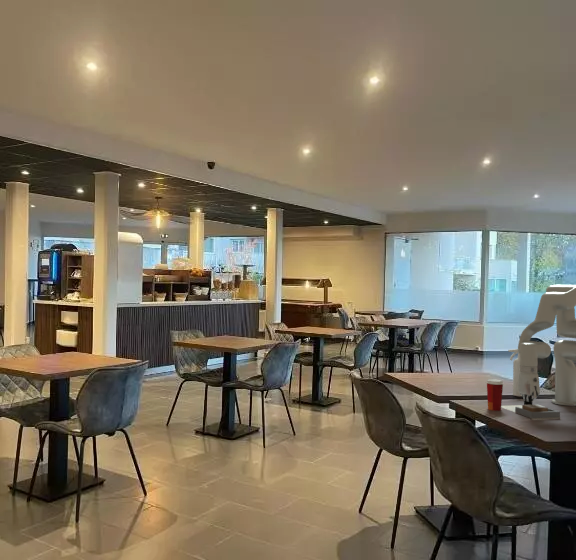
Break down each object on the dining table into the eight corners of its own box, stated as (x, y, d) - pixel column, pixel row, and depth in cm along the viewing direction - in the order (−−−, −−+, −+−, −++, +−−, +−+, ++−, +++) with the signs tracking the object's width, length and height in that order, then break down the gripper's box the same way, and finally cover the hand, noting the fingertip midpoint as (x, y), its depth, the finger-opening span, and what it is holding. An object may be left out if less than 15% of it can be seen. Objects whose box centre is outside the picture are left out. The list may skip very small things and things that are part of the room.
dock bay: (523, 406, 283) (523, 400, 283) (559, 418, 257) (559, 411, 257) (496, 406, 280) (497, 400, 280) (531, 419, 254) (531, 412, 254)
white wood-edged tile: (538, 412, 266) (538, 404, 266) (547, 415, 260) (547, 407, 260) (522, 413, 265) (522, 404, 265) (531, 416, 258) (531, 407, 258)
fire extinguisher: (535, 396, 309) (533, 349, 310) (510, 396, 311) (509, 349, 312) (532, 394, 315) (530, 348, 317) (508, 394, 318) (507, 348, 319)
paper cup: (505, 410, 273) (505, 380, 273) (500, 413, 266) (501, 382, 267) (488, 408, 277) (488, 378, 277) (483, 410, 271) (483, 380, 271)
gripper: (546, 372, 261) (545, 413, 261) (526, 367, 276) (525, 406, 276) (531, 372, 260) (530, 413, 260) (511, 367, 275) (511, 406, 274)
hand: (528, 409), depth 268 cm, fingers closed
